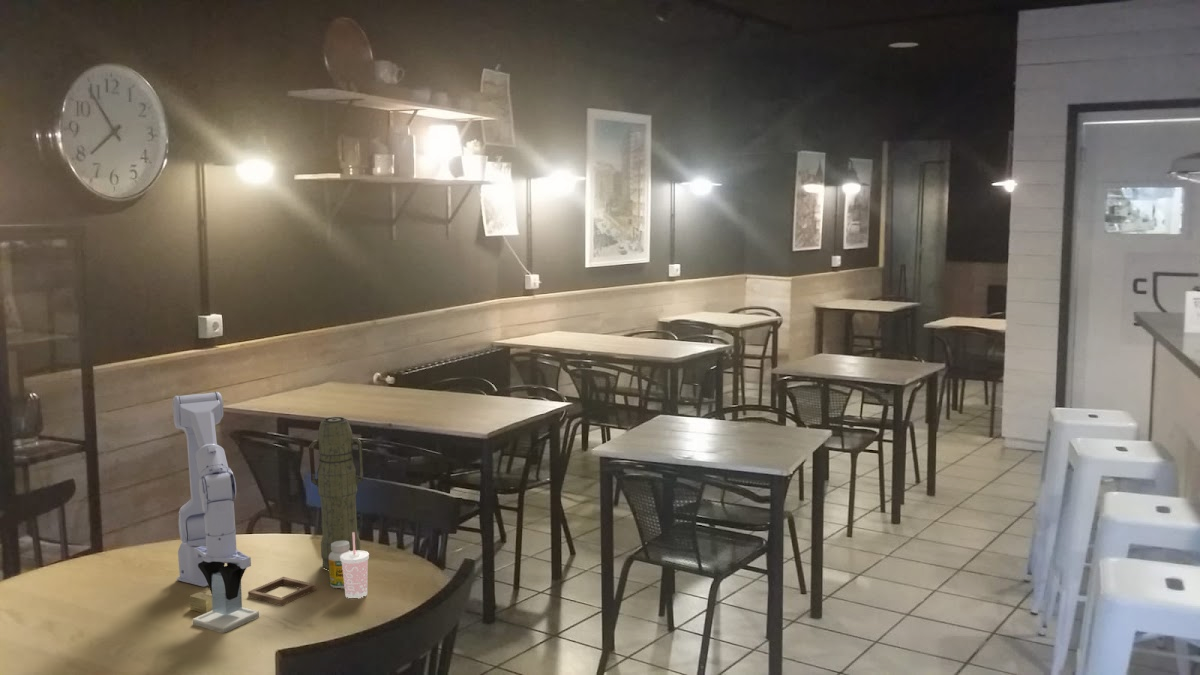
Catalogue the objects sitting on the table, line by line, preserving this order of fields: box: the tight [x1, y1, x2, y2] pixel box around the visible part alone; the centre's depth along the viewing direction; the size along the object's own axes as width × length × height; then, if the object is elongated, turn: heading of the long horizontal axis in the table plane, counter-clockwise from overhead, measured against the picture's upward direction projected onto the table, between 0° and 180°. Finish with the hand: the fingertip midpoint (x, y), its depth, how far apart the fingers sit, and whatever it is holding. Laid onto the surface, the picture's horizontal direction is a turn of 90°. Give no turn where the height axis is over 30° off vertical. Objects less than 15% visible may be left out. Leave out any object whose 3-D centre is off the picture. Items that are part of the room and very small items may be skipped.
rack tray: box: [192, 606, 260, 634], centre depth 209 cm, size 9×9×1 cm
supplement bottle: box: [328, 541, 350, 589], centre depth 228 cm, size 5×5×10 cm
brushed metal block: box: [211, 571, 243, 615], centre depth 209 cm, size 4×4×8 cm
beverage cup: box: [340, 532, 370, 599], centre depth 221 cm, size 6×6×14 cm
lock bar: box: [189, 591, 213, 614], centre depth 215 cm, size 5×2×3 cm, turn 60°
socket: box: [247, 576, 317, 606], centre depth 224 cm, size 10×10×1 cm
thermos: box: [308, 416, 364, 571], centre depth 238 cm, size 9×12×35 cm
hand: (224, 596), depth 209 cm, fingers closed on brushed metal block, 4 cm apart
